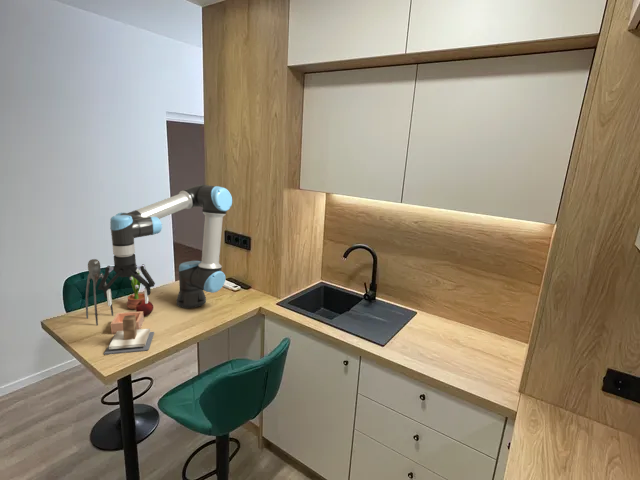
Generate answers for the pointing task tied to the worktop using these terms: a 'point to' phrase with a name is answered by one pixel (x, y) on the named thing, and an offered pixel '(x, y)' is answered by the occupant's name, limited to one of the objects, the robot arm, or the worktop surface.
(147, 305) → the apple
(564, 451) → the worktop surface
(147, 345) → the mat
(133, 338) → the lid
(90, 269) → the juicer
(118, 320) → the dish
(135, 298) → the potted flower
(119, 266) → the robot arm
